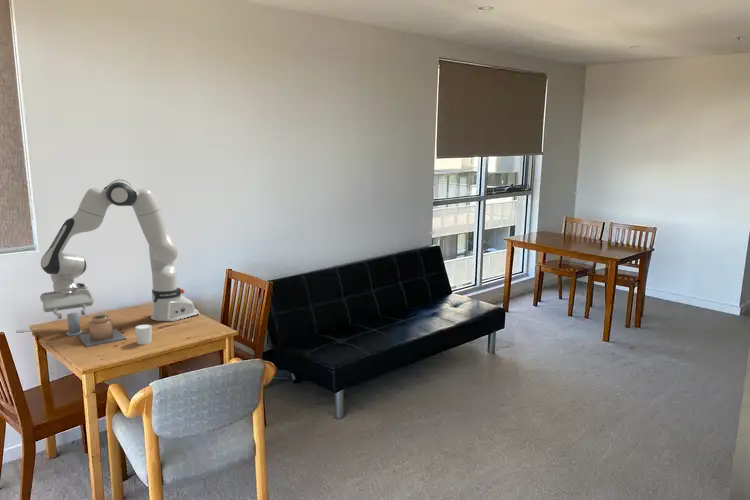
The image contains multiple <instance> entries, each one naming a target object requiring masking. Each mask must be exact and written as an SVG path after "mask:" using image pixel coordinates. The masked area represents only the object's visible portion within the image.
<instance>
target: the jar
mask: <svg viewBox="0 0 750 500" xmlns="http://www.w3.org/2000/svg"><path fill="white" fill-rule="evenodd" d="M88 327H89V333H82V334H80V335H77V336H76V337H77V338H78V339H79V341H80V342H82V344H83V345H84V346H85V348H88V347H93V346H98V345H104V344H109V343H115V342H119V341H121V342H122V341H126V340H127V337H126V336H125V335H123V333H121V332H120V331H119V330H118V329H117V328H113V319H111V318H109V315H107V314H98V315H93V316H92V317H91V320H89V322H88Z"/></svg>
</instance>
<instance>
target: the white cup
mask: <svg viewBox="0 0 750 500" xmlns="http://www.w3.org/2000/svg"><path fill="white" fill-rule="evenodd" d="M152 329H153V325H152V324H139V325H136V326H135V327H134V331H135V337H136V342H137V343H136V344H138V345H141V346H142V345H143V346H144V345H148V344H150V343H151V342H152V337H153V336H152V333H153V332H152Z"/></svg>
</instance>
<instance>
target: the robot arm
mask: <svg viewBox="0 0 750 500" xmlns="http://www.w3.org/2000/svg"><path fill="white" fill-rule="evenodd" d="M83 195H84V196H83V197H82V199H81V201H80V204H79V207H78V209H77V210H76V212H75V213H74V215H73V216H72V217H70V218H68V219H66V220H65V221H64V223H63V224H62V226H61V227H60V229H59V231H57V234H56V235H55V238H54V239H53V241H52V242H51V245H50V247H49V248H48V249H47V250H46V251H45V253H44V254H43V255H42V257H41V261H40V266H41V268H42V270H43V271H44V272H45V273H46V274H49V275H50V279H51V281H52V283H53V284H52V287H53V291H50V292H43V293H42V294H41V295H39V296H40V297H39V299H40V301H41V302H42V309H43V312H45V313H50V312H52V313H53V314H54V315H55V316H56V317H57V319H58V320H59V319H60V320H61V319H62V317H63V316H62V313H60V311H64V310H71V309H78V308H82V309H81V310H80V315H81V316H85V315H86V309H87V307H91V306H93V304H94V303H95V302H94V301H95V300H94V297H93V293H92V292H91V290H90V289H88V285H87V284H88V283H82V282H75V279H77V278H78V277H80V276H81V275H83V274H85V271H87V262H86V259H85V257H83V256H82V255H80V254H73V253H65V252H64V249H65V247H66V246H67V244H68V243H69V241H70V239H71V238H72V237H73V236H75V235H78V234H81V233H88V232H93V231H95V230H97V229H98V228H99V227H101V225H102V223H103V221H104V219H105V216H106V212H107V210H108V209H109V207H110V206H111V205H114V206H116V207H127V206H128V207H129V206H130V207H132V209H133V211H134V214H135V216H136V219H137V221H138V224H139V226H140V229H141V230H142V233H143V235H144V238H145V239H146V241H147V244H148V252H149V261H150V268H151V277H152V278H151V279H152V290H151V292H152V293H151V299H152V311H151V316H150V319H151V320H153V321H158V322H177V321H180V319H181V320H184V318H185V319H188V318H187V317H189V318H191V317H190V316H193V315H197V313H198V314H199V315H200V312H199V310H198V309H196V308H195V306H194V303H193V301H192V300H191V299H189V298H187V297H186V296H185V295H184V293H185V292H186V291H185V290H184V289H183V288H179V287H178V282H177V281H178V280H177V279H178V278H177V277H178V276H177V270H176V268H177V267H176V264H175V263H176V262H175V260H176V259H177V257H178V255H179V254H178V252H179V250H178V247H177V245H176V242H175V240H174V238H173V236H172V233H171V232H170V229H169V227H168V225H167V222H166V220H165V217H164V215H163V213H162V210H161V208H160V205H159V202H158V201H157V199H156V197H155V195H154V194H153V192H152V191H151V190H150V189H148V188H139V189H134V188H133V187H132V184H130V183H129V182H128V181H127V180H124V179H116V180H114V181H111V182H110V183H109V184H108V185H106V186H105V187H104V188H98V187H92V188H89V189H88V190H87V191H86V192H85V194H83ZM58 311H59V312H58ZM197 316H198V315H197ZM193 317H194V316H193Z"/></svg>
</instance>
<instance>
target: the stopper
mask: <svg viewBox="0 0 750 500" xmlns="http://www.w3.org/2000/svg"><path fill="white" fill-rule="evenodd" d="M66 319H67V327H68V330H67V331H66V333H65V334H66V336H68V337H75V336H76V337H77V335H83V334H84V330H83V329H81V324H80V313H79V312H69V313H67V318H66Z"/></svg>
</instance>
